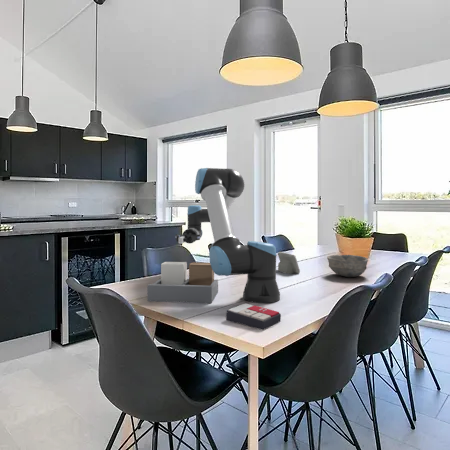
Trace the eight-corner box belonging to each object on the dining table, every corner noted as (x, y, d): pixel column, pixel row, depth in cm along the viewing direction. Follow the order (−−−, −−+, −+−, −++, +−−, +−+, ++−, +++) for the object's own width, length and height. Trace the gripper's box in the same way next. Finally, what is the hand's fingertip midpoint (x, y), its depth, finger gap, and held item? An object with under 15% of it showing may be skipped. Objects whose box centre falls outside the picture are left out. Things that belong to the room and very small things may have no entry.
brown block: (212, 290, 162) (211, 265, 162) (189, 289, 164) (188, 264, 163) (214, 287, 168) (214, 262, 168) (191, 286, 170) (191, 262, 169)
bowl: (354, 282, 186) (354, 262, 186) (318, 275, 202) (319, 257, 201) (375, 276, 200) (375, 257, 199) (340, 270, 215) (340, 253, 215)
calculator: (263, 319, 119) (226, 308, 128) (262, 332, 119) (225, 320, 129) (281, 311, 127) (245, 301, 137) (280, 323, 128) (244, 313, 137)
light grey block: (183, 289, 164) (183, 264, 163) (161, 289, 165) (161, 264, 164) (187, 286, 170) (186, 262, 169) (165, 286, 171) (164, 261, 170)
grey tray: (211, 303, 149) (211, 286, 149) (147, 301, 153) (147, 285, 152) (218, 292, 167) (218, 277, 167) (160, 290, 170) (160, 276, 170)
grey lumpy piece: (301, 274, 206) (301, 254, 206) (285, 275, 205) (285, 255, 204) (290, 268, 222) (290, 250, 221) (275, 269, 220) (275, 251, 220)
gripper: (202, 242, 200) (193, 249, 177) (178, 242, 202) (166, 248, 178) (202, 228, 200) (193, 232, 176) (178, 228, 201) (166, 232, 178)
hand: (180, 240), depth 177 cm, fingers closed
